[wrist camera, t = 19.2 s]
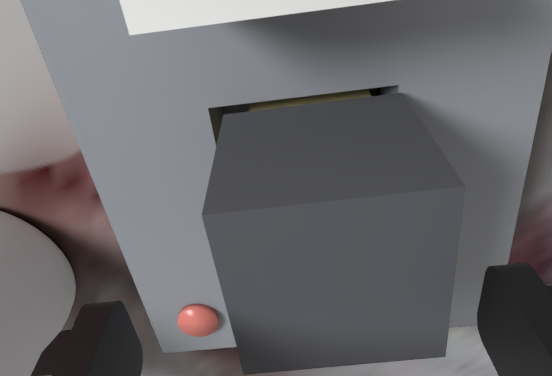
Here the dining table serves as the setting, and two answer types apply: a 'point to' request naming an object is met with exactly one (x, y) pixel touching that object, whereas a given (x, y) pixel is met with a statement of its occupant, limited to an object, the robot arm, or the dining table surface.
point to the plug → (333, 232)
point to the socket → (282, 85)
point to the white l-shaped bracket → (215, 11)
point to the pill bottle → (30, 294)
